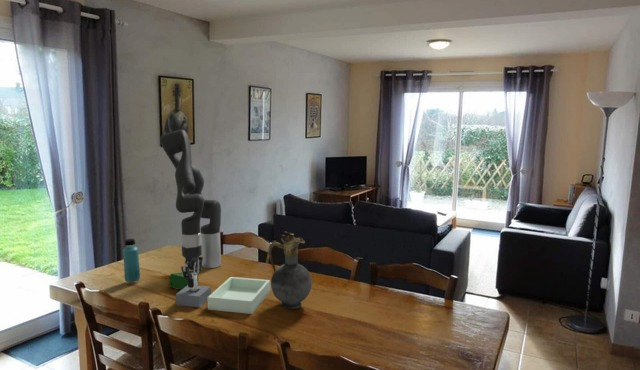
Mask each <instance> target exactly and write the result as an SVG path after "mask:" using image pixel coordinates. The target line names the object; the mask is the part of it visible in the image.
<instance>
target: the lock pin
mask: <svg viewBox="0 0 640 370" xmlns="http://www.w3.org/2000/svg"><path fill="white" fill-rule="evenodd" d="M190 274H191V273H190ZM198 286H199V285H198V284H197V272H196V271H195V273H194V287H193V288H189V292H191V293H196V292H198Z"/></svg>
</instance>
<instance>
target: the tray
mask: <svg viewBox="0 0 640 370" xmlns="http://www.w3.org/2000/svg"><path fill="white" fill-rule="evenodd" d="M270 292H271V279H262V278H261V279H260V278H247V277H236V276H230V277H229V278H228V279H226V280H225V281H224V282H223V283H221V285H220V286H218V287H217V288H216V289H214V290H213V292H211V295H209V296H208V300H207V310H208V311H209V310H210V311H220V312H228V313H229V312H231V313H238V314H239V313H240V314H249V315H253V314H254V312H255V311H256V310H257V309H258V307H259V306H260V305H261V303H263V301H264V300H265V298H266V297H268V295H269V294H270Z"/></svg>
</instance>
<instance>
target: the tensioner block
mask: <svg viewBox="0 0 640 370" xmlns="http://www.w3.org/2000/svg"><path fill="white" fill-rule="evenodd" d="M211 294H212V286H205V285H198V292H196V293H191V292H189V287H188V285H187V286H186V287H185V288H183V289H182V290H179V291H178V292H177V293H175V305H176V306H182V307H192V308H201V307H202V306H203V305H204V304H205V303H206V302H208V296H209V295H211Z"/></svg>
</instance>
